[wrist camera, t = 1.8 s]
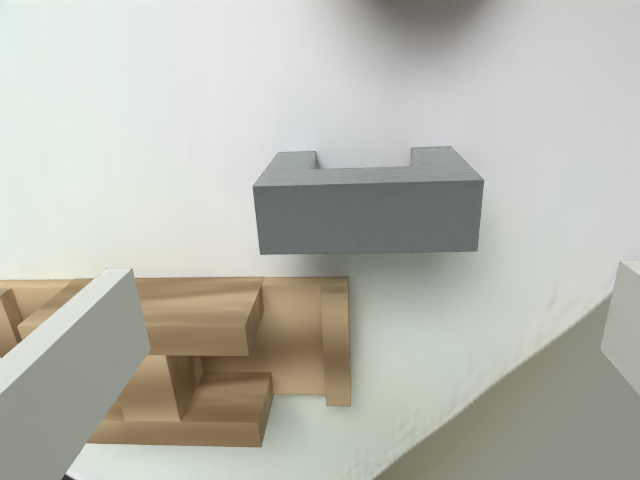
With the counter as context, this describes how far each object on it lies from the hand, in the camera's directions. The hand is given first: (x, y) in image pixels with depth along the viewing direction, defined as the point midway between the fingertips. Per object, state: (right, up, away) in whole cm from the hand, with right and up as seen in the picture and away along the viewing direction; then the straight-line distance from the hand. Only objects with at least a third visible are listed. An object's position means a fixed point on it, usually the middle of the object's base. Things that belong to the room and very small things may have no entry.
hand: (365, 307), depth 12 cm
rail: (-10, -4, +16) cm, 20 cm away
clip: (+1, +5, +12) cm, 13 cm away
